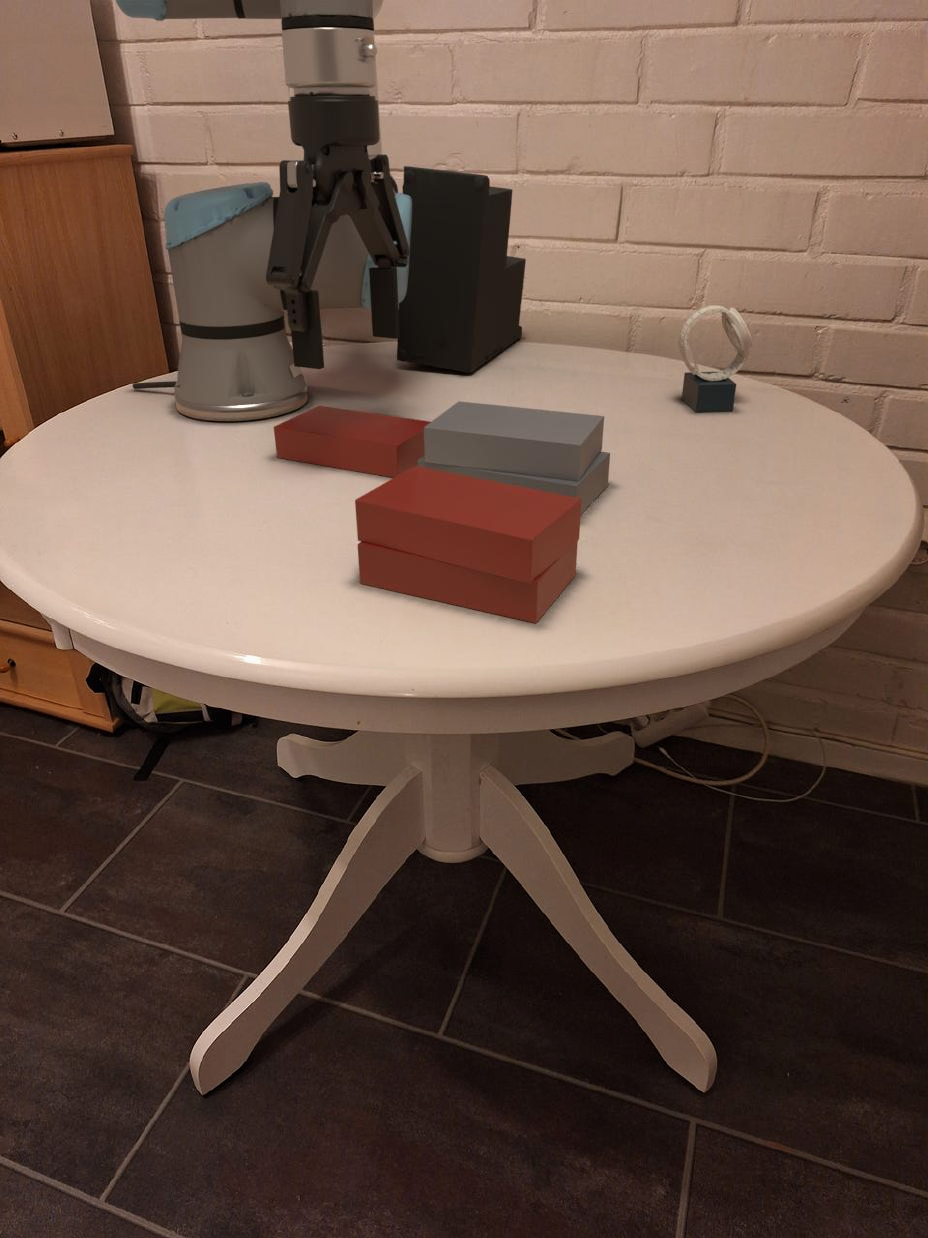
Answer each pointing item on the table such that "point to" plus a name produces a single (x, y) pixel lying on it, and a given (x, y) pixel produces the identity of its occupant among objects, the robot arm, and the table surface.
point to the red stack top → (470, 522)
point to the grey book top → (515, 440)
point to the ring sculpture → (714, 386)
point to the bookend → (458, 272)
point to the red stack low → (465, 582)
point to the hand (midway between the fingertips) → (350, 351)
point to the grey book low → (543, 479)
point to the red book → (352, 440)
